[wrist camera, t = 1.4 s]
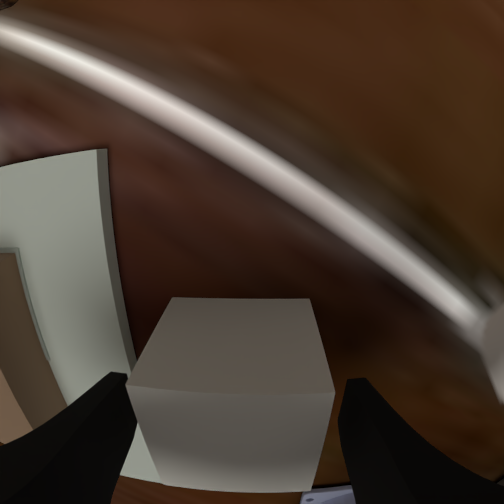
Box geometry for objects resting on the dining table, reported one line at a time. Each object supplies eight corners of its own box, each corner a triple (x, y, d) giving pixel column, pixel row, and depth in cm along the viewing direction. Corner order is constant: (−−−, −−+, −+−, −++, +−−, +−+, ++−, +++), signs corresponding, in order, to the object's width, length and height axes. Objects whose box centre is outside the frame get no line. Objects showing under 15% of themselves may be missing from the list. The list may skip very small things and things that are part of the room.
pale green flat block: (172, 474, 16) (160, 523, 12) (23, 434, 16) (2, 468, 12) (107, 148, 10) (41, 154, 6) (-64, 185, 10) (-113, 201, 7)
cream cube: (299, 396, 13) (310, 490, 8) (187, 394, 13) (163, 484, 8) (309, 297, 11) (335, 392, 7) (172, 296, 12) (125, 384, 7)
